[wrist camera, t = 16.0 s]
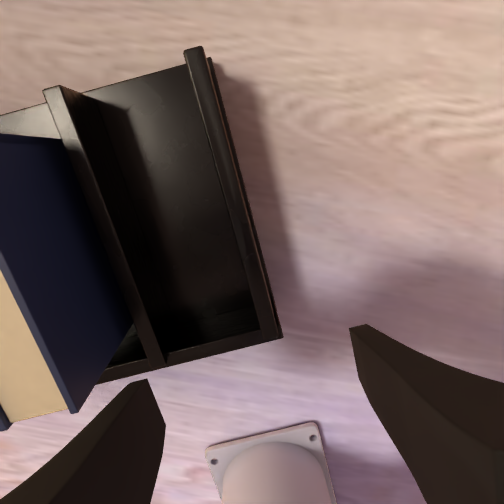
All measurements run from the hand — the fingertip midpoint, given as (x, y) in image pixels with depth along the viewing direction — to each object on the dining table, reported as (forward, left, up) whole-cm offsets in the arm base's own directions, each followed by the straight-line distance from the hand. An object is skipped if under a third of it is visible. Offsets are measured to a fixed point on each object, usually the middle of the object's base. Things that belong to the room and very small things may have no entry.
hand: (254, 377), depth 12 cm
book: (+5, +8, -8) cm, 13 cm away
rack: (+5, +8, -9) cm, 13 cm away
